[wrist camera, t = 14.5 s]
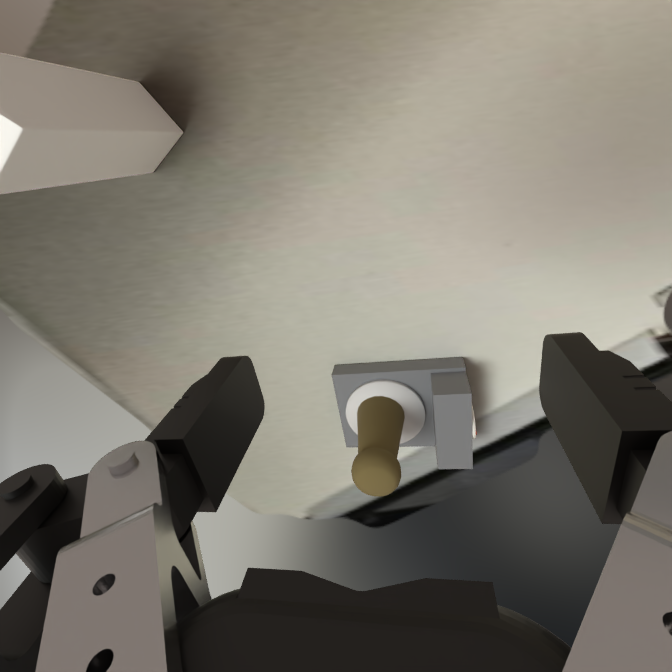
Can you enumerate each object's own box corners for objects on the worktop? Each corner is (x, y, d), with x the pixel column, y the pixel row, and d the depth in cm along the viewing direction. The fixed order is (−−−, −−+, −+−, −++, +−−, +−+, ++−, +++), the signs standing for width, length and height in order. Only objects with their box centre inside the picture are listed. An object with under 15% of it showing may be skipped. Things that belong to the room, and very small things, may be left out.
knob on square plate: (467, 356, 45) (477, 389, 40) (468, 432, 51) (477, 471, 45) (334, 365, 49) (325, 396, 43) (348, 435, 54) (342, 471, 48)
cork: (409, 430, 48) (411, 503, 38) (364, 436, 50) (355, 507, 40) (398, 392, 46) (397, 460, 36) (351, 400, 47) (338, 466, 38)
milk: (184, 132, 39) (-27, 128, 19) (153, 173, 41) (-63, 207, 22) (138, 79, 37) (-144, 19, 18) (107, 126, 40) (-169, 117, 20)
